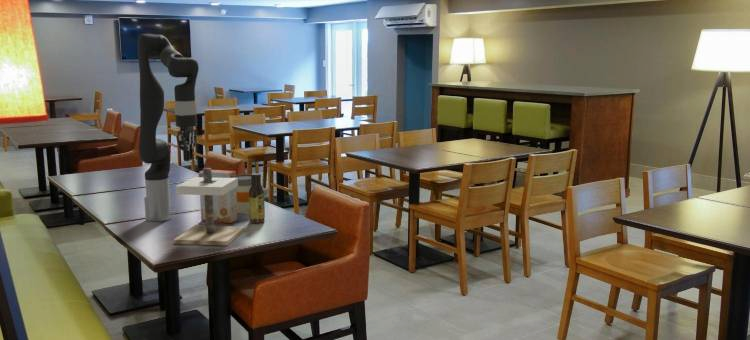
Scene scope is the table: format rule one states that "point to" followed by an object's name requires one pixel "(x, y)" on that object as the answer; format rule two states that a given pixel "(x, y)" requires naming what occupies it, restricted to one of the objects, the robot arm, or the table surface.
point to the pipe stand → (209, 225)
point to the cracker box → (222, 200)
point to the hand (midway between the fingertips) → (188, 160)
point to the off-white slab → (207, 186)
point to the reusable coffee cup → (243, 193)
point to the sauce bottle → (256, 200)
